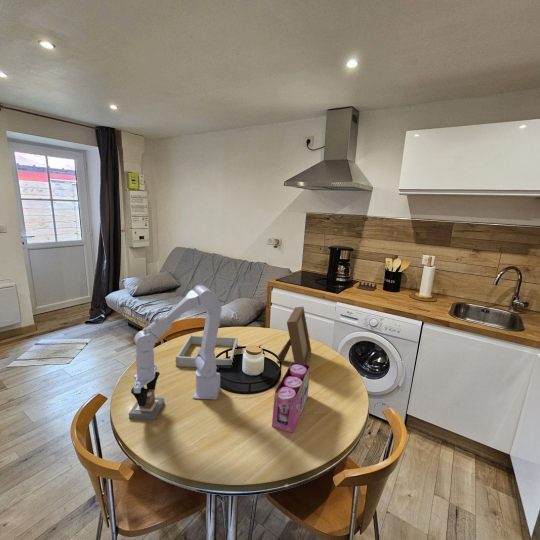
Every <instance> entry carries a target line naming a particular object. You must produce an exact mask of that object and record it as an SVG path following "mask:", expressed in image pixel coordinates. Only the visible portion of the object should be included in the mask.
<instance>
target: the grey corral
mask: <svg viewBox="0 0 540 540" xmlns="http://www.w3.org/2000/svg"><path fill="white" fill-rule="evenodd" d="M202 339H203V335H194V334H191V335H188V337H187V339H186V341H185V342H184V343H183V345H182V347H181V348H180V349H179V351H178V353H177V355H176V356H175V367H189V368H190V367H191V368H197V366H195V364H194V359H195V357H196V356H186V353H187V352H188V351H189V348H190V347H191V345H202ZM215 346H226V347H228V346H229V347H232V350H231V352H230V357H229V358H225V357H223V358H222V357H221V358H218V357H216V365H232V362H233V363H234V361H233V358H234V359H235V357H234V355H235V356H236V352H237V349H236V350H235V348H238V337H234V336H233V337H232V336H217V339H216V344H215ZM232 366H233V365H232Z"/></svg>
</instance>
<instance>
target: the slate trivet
mask: <svg viewBox="0 0 540 540" xmlns="http://www.w3.org/2000/svg"><path fill="white" fill-rule="evenodd" d="M164 404H165V398H164V397H155V402H154V404H153V405H152V407H151V409H144V408H139V405H138V402H137V401H136V402H135V404H134V405H133V407H132V408H131V410H130V411H129V413H128V419H135V420H136V419H139V420H156V418H157V416H158V415H159V414H160V411H161V410H162V408H163V405H164Z"/></svg>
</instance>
